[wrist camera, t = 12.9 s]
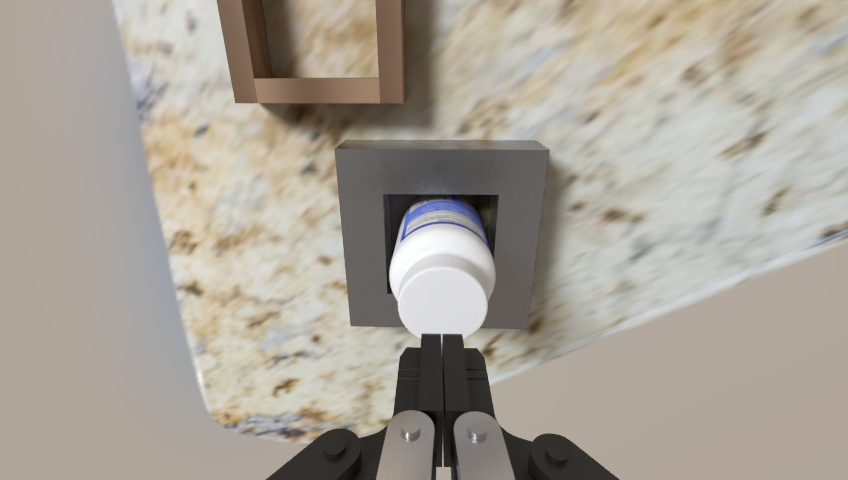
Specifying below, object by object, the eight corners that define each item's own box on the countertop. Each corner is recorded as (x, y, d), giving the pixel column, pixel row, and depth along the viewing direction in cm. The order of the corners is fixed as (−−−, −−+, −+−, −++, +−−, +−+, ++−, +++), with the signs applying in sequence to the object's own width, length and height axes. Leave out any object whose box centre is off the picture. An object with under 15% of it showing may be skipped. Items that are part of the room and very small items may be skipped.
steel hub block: (536, 140, 24) (549, 149, 21) (518, 303, 28) (527, 328, 25) (346, 139, 24) (334, 149, 21) (359, 301, 28) (350, 326, 26)
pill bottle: (459, 275, 27) (471, 374, 18) (388, 246, 27) (364, 335, 18) (496, 208, 25) (529, 283, 16) (419, 174, 25) (411, 234, 16)
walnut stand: (402, -92, 19) (398, -114, 17) (406, 100, 23) (402, 103, 20) (224, -89, 19) (196, -111, 17) (255, 100, 23) (235, 103, 21)
